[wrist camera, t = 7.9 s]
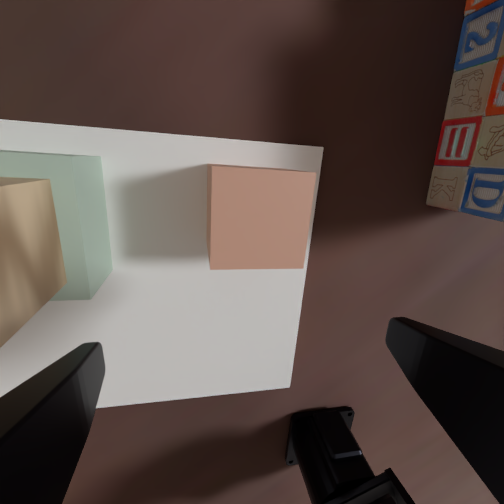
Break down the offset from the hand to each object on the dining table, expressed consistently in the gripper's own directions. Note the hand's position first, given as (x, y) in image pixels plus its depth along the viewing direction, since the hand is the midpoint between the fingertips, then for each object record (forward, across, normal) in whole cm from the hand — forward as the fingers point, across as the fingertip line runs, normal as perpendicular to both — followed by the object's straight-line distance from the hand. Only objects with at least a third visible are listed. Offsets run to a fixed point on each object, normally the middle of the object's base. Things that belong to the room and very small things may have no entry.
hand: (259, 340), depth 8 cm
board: (+12, +6, +3) cm, 13 cm away
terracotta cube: (+11, -1, -3) cm, 11 cm away
